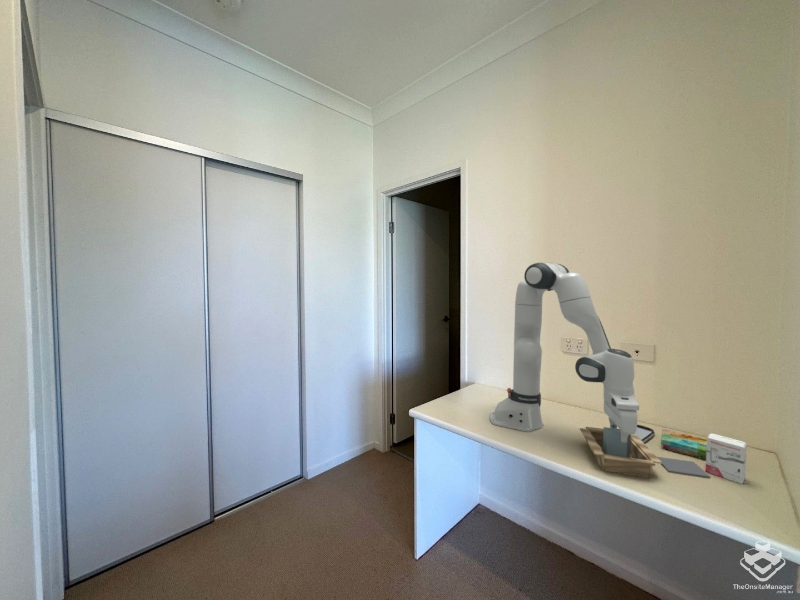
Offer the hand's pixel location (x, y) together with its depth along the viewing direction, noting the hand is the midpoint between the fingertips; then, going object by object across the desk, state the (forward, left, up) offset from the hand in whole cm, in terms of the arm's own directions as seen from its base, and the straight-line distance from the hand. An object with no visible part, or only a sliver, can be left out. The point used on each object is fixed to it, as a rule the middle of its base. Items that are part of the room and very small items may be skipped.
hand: (618, 435), depth 111 cm
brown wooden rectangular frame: (0, 0, -9) cm, 9 cm away
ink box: (+30, -1, -9) cm, 31 cm away
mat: (+19, 0, -9) cm, 20 cm away
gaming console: (+13, +22, -9) cm, 28 cm away
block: (0, 0, -9) cm, 9 cm away
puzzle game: (+30, +14, -9) cm, 34 cm away
